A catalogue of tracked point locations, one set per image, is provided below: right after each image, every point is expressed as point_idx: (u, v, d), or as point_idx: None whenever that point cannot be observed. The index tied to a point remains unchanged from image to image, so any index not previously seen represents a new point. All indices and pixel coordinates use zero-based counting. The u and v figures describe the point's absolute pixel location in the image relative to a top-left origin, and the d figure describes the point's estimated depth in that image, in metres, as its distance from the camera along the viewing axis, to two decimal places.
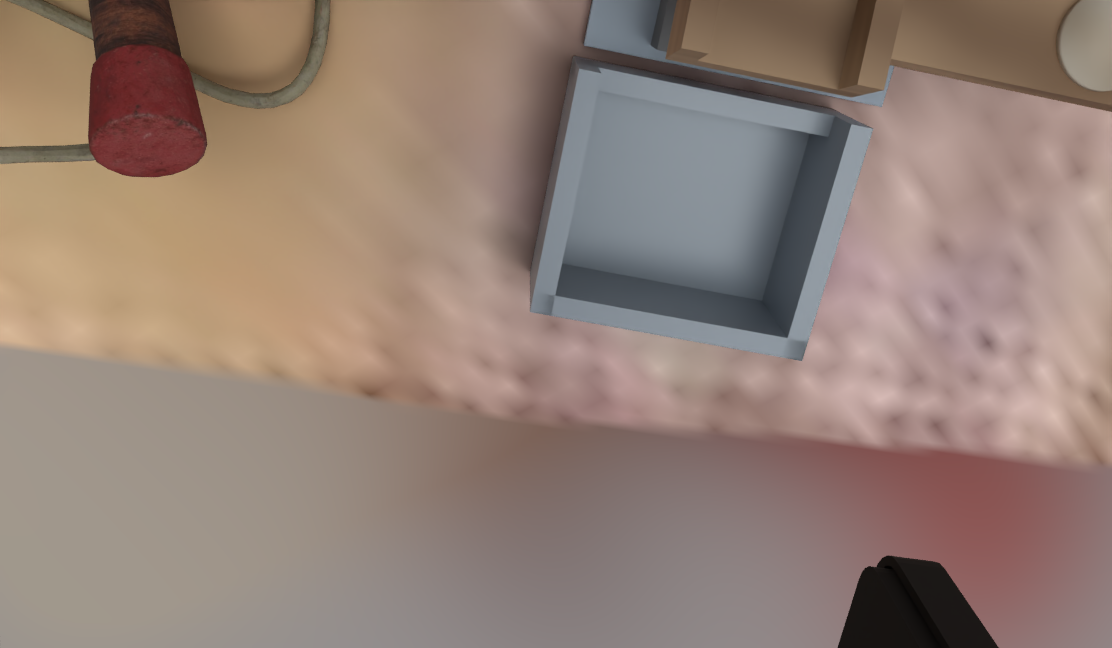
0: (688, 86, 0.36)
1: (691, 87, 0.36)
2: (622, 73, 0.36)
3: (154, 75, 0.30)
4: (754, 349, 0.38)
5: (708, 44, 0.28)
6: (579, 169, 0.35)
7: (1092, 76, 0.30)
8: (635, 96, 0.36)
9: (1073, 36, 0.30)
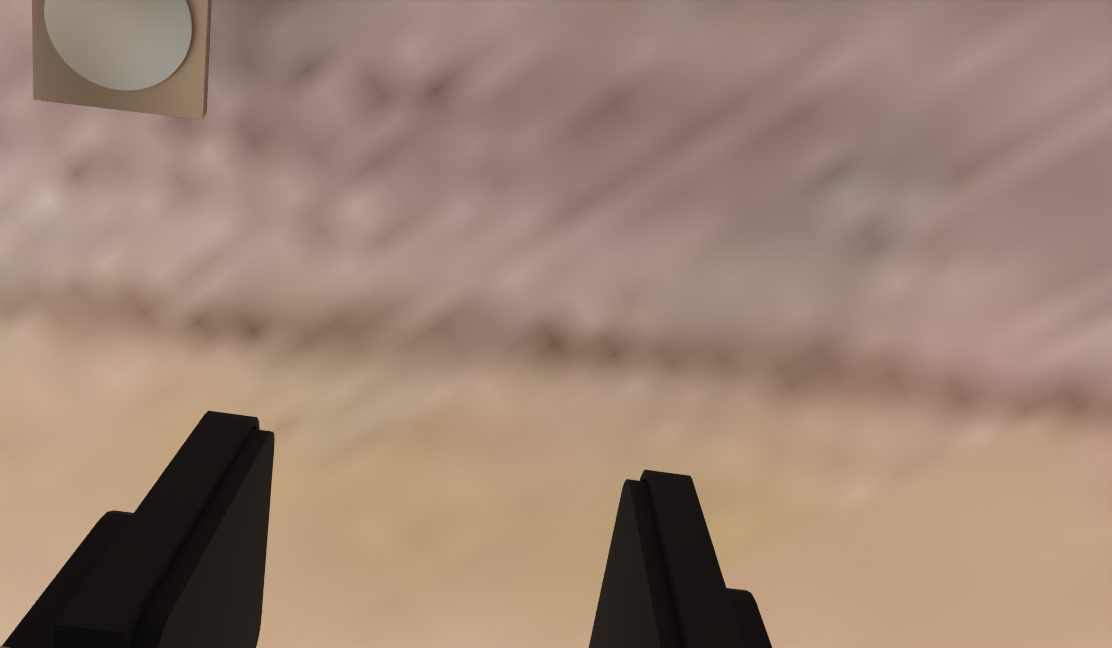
0: None
1: None
2: None
3: None
4: None
5: None
6: None
7: (62, 0, 0.21)
8: None
9: None
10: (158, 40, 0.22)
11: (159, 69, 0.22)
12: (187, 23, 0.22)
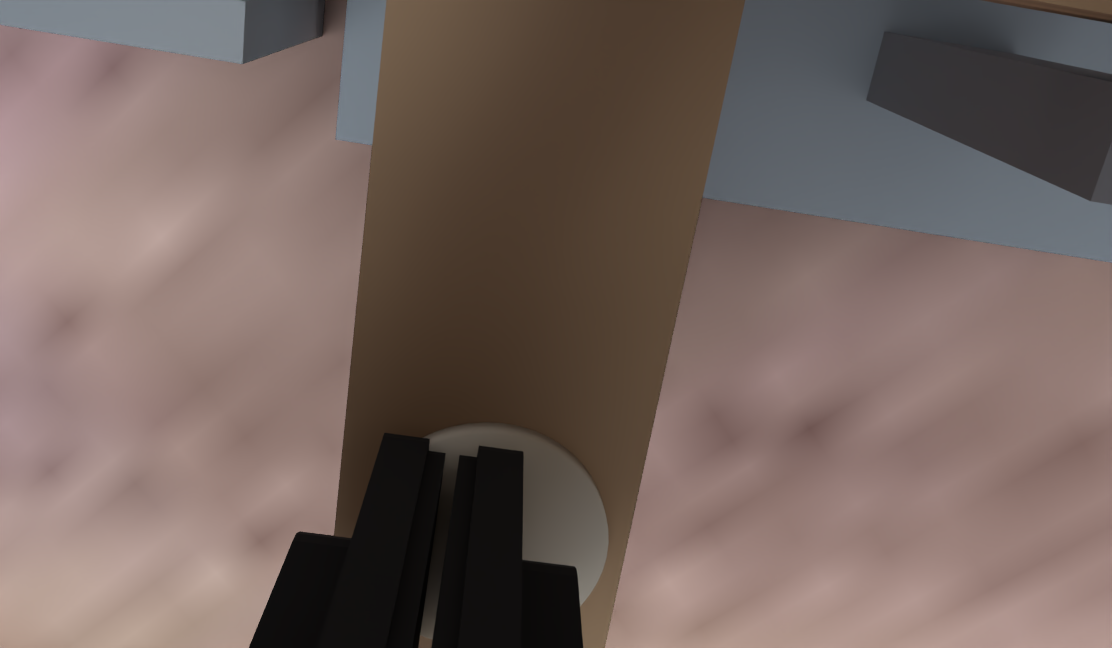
0: None
1: None
2: None
3: None
4: None
5: None
6: None
7: None
8: None
9: None
10: None
11: None
12: (600, 539, 0.12)
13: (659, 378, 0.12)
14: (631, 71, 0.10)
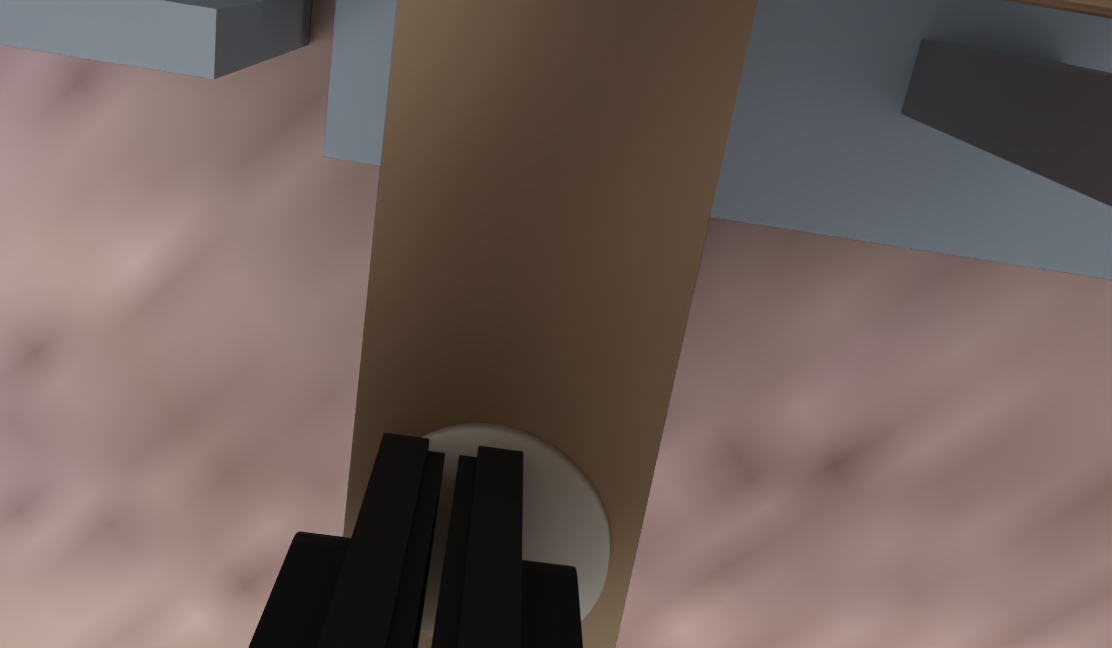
0: None
1: None
2: None
3: None
4: None
5: None
6: None
7: None
8: None
9: None
10: None
11: None
12: (602, 556, 0.12)
13: (666, 393, 0.11)
14: (637, 73, 0.10)
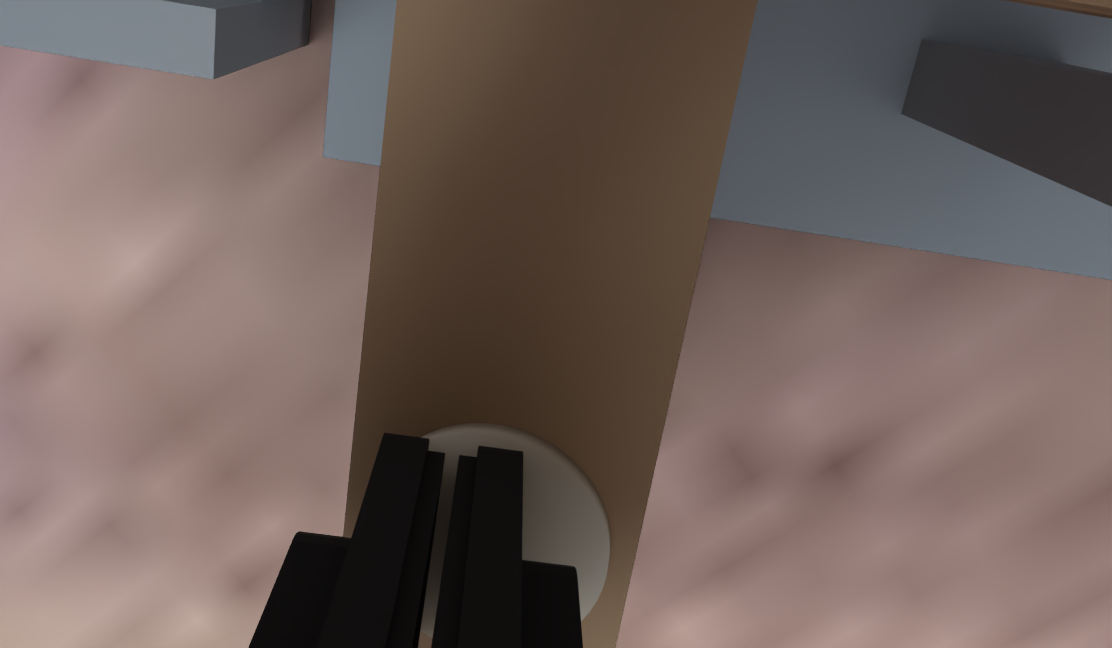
0: None
1: None
2: None
3: None
4: None
5: None
6: None
7: None
8: None
9: None
10: None
11: None
12: (602, 556, 0.12)
13: (666, 394, 0.11)
14: (637, 74, 0.10)
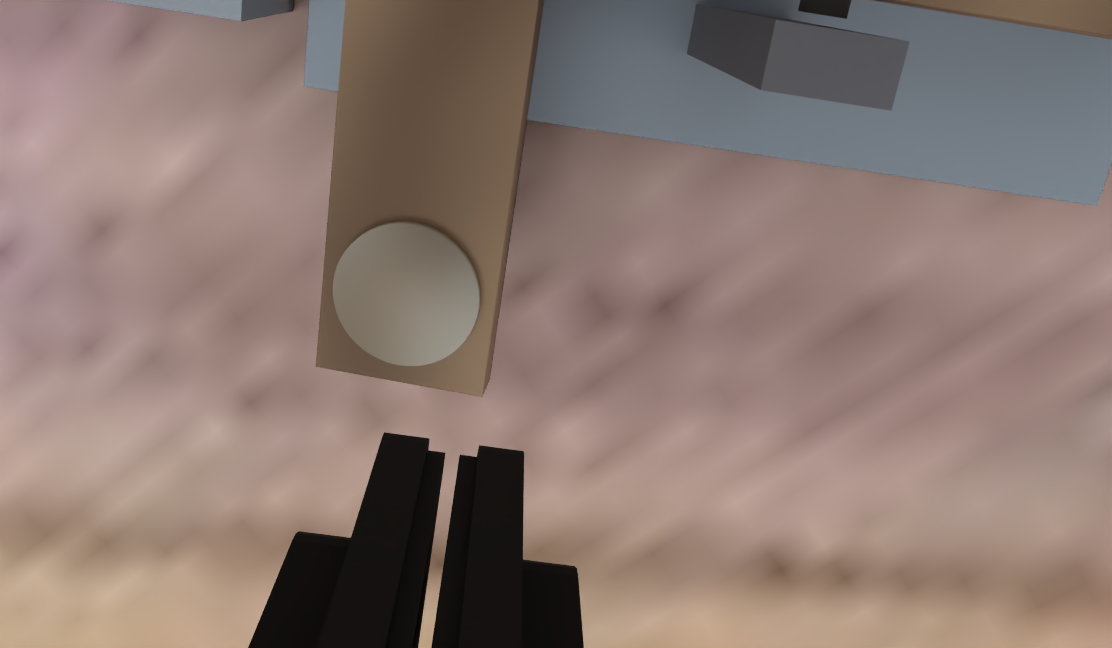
0: None
1: None
2: None
3: None
4: None
5: None
6: None
7: (351, 274, 0.20)
8: None
9: (405, 241, 0.20)
10: (444, 318, 0.20)
11: (441, 346, 0.20)
12: (475, 300, 0.20)
13: (507, 198, 0.19)
14: (481, 10, 0.18)
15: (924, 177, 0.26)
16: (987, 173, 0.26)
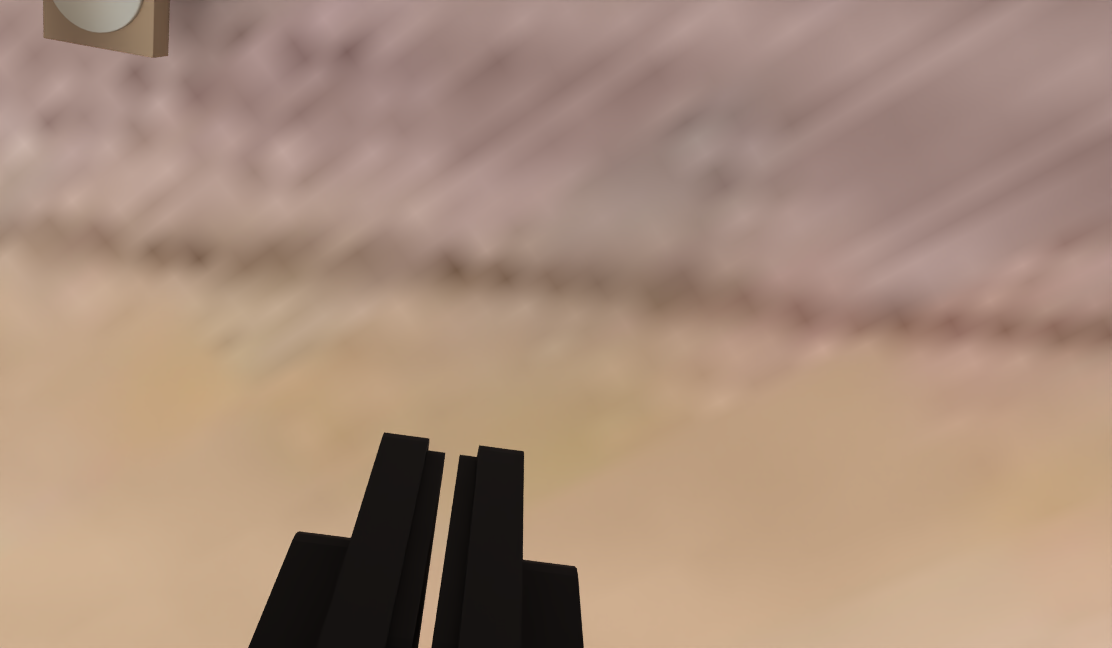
0: None
1: None
2: None
3: None
4: None
5: None
6: None
7: None
8: None
9: None
10: None
11: (119, 17, 0.31)
12: None
13: None
14: None
15: None
16: None
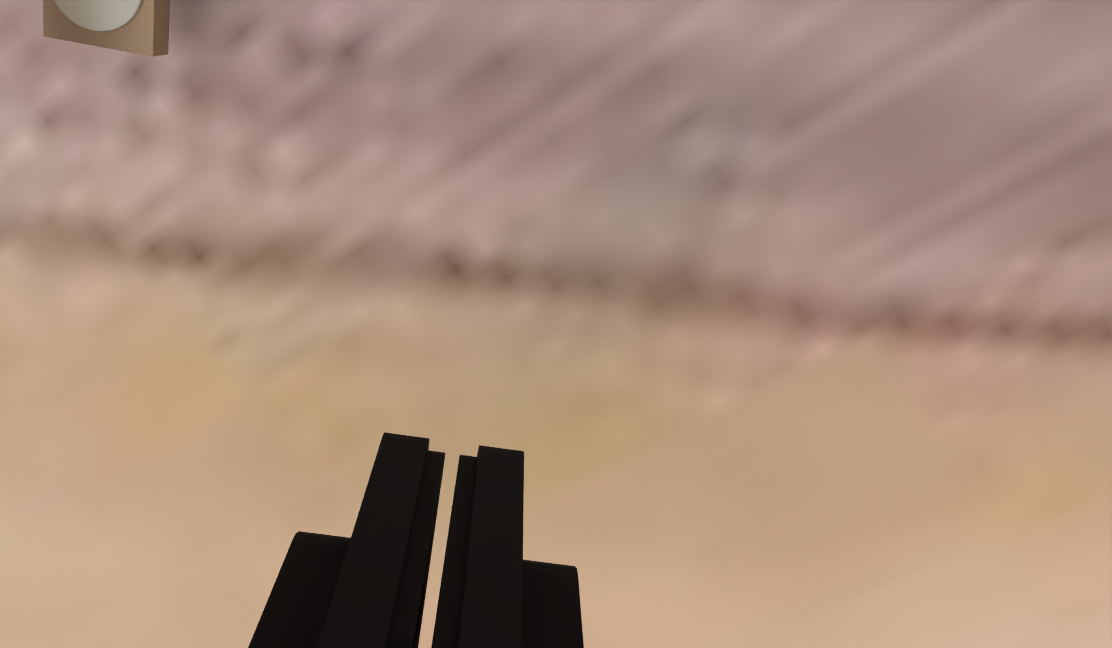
0: None
1: None
2: None
3: None
4: None
5: None
6: None
7: None
8: None
9: None
10: None
11: (119, 16, 0.31)
12: None
13: None
14: None
15: None
16: None
